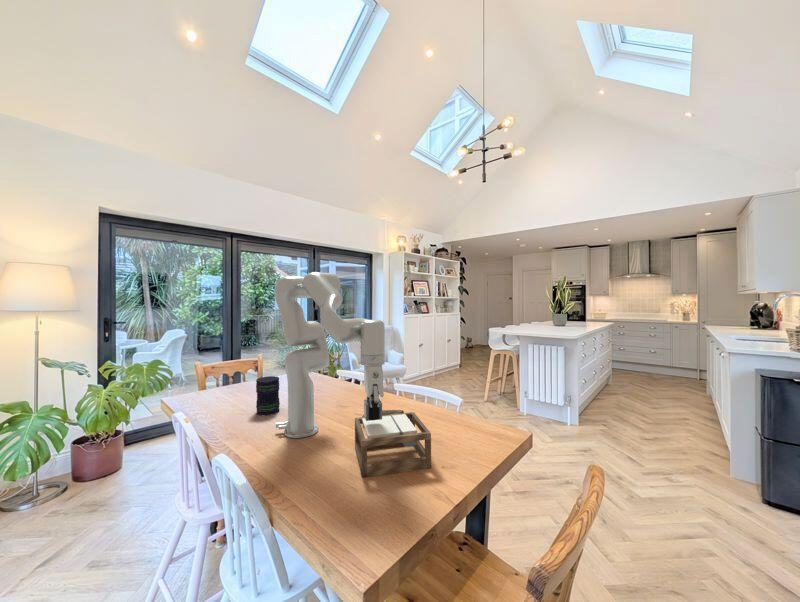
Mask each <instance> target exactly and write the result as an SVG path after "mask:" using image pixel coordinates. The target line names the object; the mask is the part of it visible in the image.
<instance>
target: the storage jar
mask: <svg viewBox="0 0 800 602" xmlns="http://www.w3.org/2000/svg"><path fill="white" fill-rule="evenodd" d="M255 381H256V383H255V389H256V390H255V392H256V404H255V408H256V415H258V416H262V415H265V416H272V415H275V414H277V413H279V412H280V405H281V404H280V397H279V394H280V392H279V391H280V377H278V376H275V375H274V376H273V375H272V376H271V375H270V376H269V375H268V376H263V377H259V378H257V379H256V380H255ZM278 411H279V412H278ZM271 414H272V415H271Z"/></svg>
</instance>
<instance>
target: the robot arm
mask: <svg viewBox="0 0 800 602" xmlns="http://www.w3.org/2000/svg"><path fill="white" fill-rule="evenodd" d="M275 283H276V284H275V285H274V286H275V287H274V299H275V302H276V305H277V307H278V310H279V313H280V318H281V324H282V329H283V335H284V339H285V342H286V344H287V346H289V347H292V348H293V347H303V346H309V348H307V347H306V348H301V349H295V350H293V351H291V352H289V353H288V354H287V355H286V356H285V358H284V367H285V371H286V372H285V373H286V377H287V378H286V379H287V380H286V381H287V402H288V403H287V407H288V409H287V411H288V413H287V415H288V417H287V418H288V419H287V420H285V421H284V422H283V421H281V422H275V428H276V429H278V430H283V434H284V436H285V437H287V438H290V439H301V438H302V439H303V438H308V437H310V436H313V435H315V434H317V432H318V431H319V426H318V424H316V423H315V389H314V388H315V385H314V382H313V380H312V378H311V377H310V374H311V373H315V372H318V371H322V370H325V369H326V368H327V367H328V365H329V364H330V353H329V349H328V343H327V338H326V333H327V334H328V335H329V337H330V338H331V339H332V340H333V341H335V342H337V343H339V344H347V343H353V342H360V365H361V366H363V369H364V371H363V373H364V374H363V379H364V380H363V385H364V387H363V388H364V392H365V394H366V400H367V399H370V407H369V420H379V418H380V407H379V399H380V397H381V398H383V397H384V395H385V394H384V392H385V391H384V369H383V366H384V365H385V360H386V358H385V354H386V353H385V350H386V349H385V348H386V347H385V339H386V338H385V332H386V330H385V322H384V321H383V320H381V319H380V320H379V319H367V318H364V317H358V318H357V317H356V318H353V317H352V318H342V317H340V315H338V314H337V312H336V311H337V310H338V309H339V308H340V306H341V305H342V303H343V297H342V294H341V293H340V290H341V287H342V286H341V285H342V284H341V280H340V278H339V277H338V276H337V275H335V274H334V273H331V272H320V271H319V272H318V271H313V272H309V273H307V274H305V275H304V276H297V275H290V276H289V275H287V276H283V277H281V278H279V279H278V280H277V281H276V282H275ZM296 299H312V300H313V301H314V302H315V304H316V305H317V307H319V309H320V321H321V322H318V321H317V320H316V321H315V320H307V321H306V318H305V313H304V310H303V308H302V306H301V304H300V303H299V302H298V301H297V300H296ZM325 331H326V332H325ZM372 399H374V400H373V401H372Z"/></svg>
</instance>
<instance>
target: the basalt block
mask: <svg viewBox="0 0 800 602" xmlns="http://www.w3.org/2000/svg"><path fill="white" fill-rule="evenodd" d="M373 400H374V399H372V401H373ZM369 407H370V399H367V398H366V399H363V415H364V417H365V419H366V421H371V420H369ZM379 407H380V418H379V420H382V410H383V403H382V401H381V399H380V398H379Z"/></svg>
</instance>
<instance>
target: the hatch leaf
mask: <svg viewBox="0 0 800 602" xmlns="http://www.w3.org/2000/svg"><path fill="white" fill-rule="evenodd" d="M362 422H363V424H362V425H363V427H364V431H365V434H366V436H367V438H376V437H385V436H394V435H404V434H413V433H418V430H417V428H416V426H415V427H414V425H413V424H412V423H411V421H410V419H408V417H407V416H406V415H405V414H402V415H390V416H382V420H371V421H366V419H365V418H362ZM415 445H417V441H411V442H403V443H402V446H403V447H404V448H405V447H414V446H415Z"/></svg>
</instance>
